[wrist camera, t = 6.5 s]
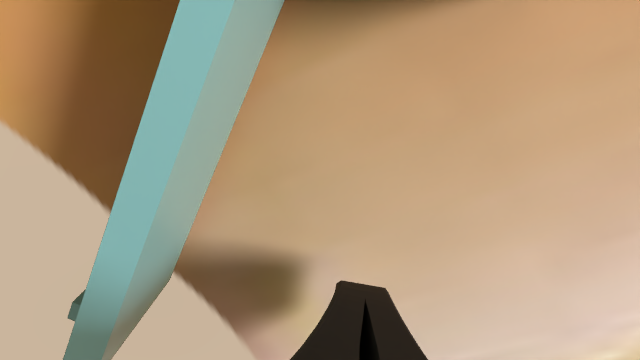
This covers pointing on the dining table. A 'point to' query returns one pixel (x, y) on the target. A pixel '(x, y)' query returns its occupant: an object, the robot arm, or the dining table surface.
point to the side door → (170, 165)
